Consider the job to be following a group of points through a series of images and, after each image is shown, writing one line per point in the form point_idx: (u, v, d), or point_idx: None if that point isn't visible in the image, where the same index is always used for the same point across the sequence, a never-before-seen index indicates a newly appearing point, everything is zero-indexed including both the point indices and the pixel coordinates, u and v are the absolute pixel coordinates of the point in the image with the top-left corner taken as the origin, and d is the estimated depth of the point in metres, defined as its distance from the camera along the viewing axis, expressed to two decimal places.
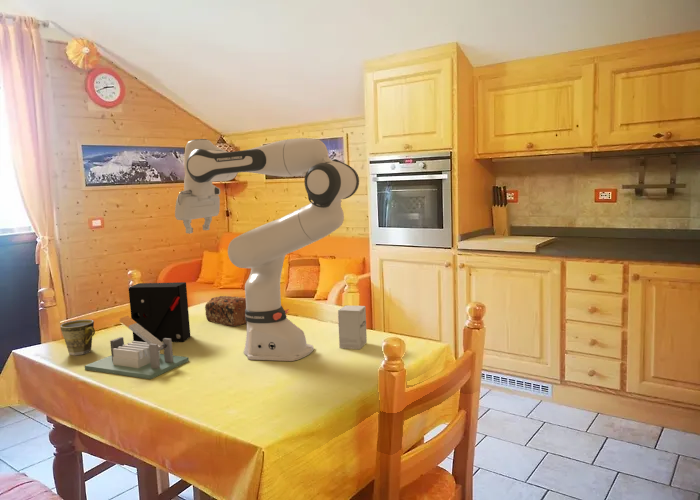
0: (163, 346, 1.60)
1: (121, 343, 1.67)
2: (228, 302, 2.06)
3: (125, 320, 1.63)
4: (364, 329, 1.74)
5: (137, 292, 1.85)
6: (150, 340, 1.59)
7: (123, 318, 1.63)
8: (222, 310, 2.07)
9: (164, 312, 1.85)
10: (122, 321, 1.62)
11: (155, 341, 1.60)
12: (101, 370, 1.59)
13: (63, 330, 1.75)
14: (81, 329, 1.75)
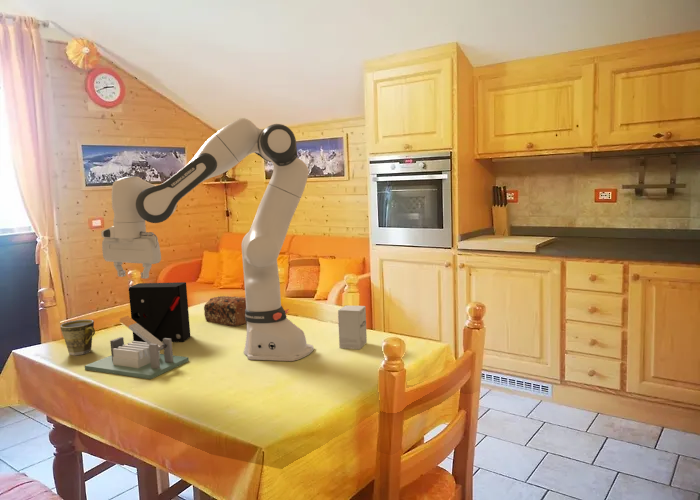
0: (163, 346, 1.60)
1: (121, 343, 1.67)
2: (229, 302, 2.06)
3: (125, 320, 1.63)
4: (364, 329, 1.74)
5: (137, 292, 1.85)
6: (150, 340, 1.59)
7: (123, 318, 1.63)
8: (223, 310, 2.06)
9: (164, 312, 1.85)
10: (122, 321, 1.62)
11: (155, 341, 1.60)
12: (101, 370, 1.59)
13: (63, 330, 1.75)
14: (81, 329, 1.75)
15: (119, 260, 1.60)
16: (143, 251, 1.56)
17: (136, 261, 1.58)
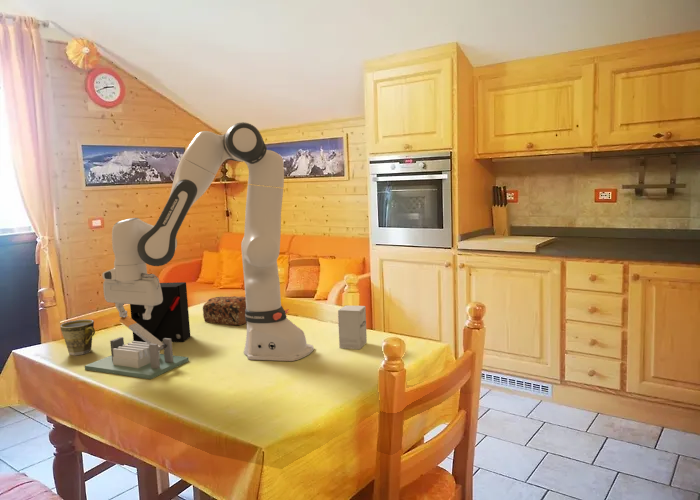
0: (163, 346, 1.60)
1: (121, 343, 1.67)
2: (231, 302, 2.07)
3: (125, 320, 1.63)
4: (364, 329, 1.74)
5: None
6: (150, 340, 1.59)
7: (123, 318, 1.63)
8: (225, 310, 2.07)
9: (164, 312, 1.85)
10: (122, 321, 1.62)
11: (155, 341, 1.60)
12: (101, 370, 1.59)
13: (63, 330, 1.75)
14: (81, 329, 1.75)
15: (121, 301, 1.61)
16: (145, 293, 1.56)
17: (138, 303, 1.58)
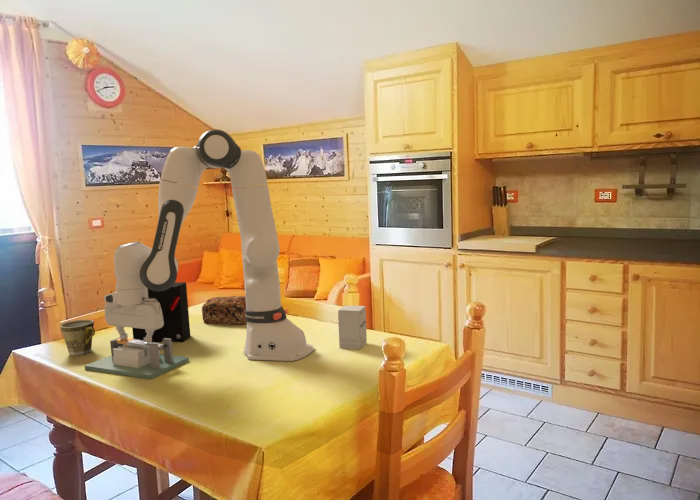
0: (163, 345, 1.60)
1: None
2: (234, 301, 2.07)
3: None
4: (364, 329, 1.74)
5: None
6: None
7: None
8: (227, 310, 2.07)
9: (164, 312, 1.85)
10: (119, 341, 1.64)
11: None
12: (101, 370, 1.59)
13: (63, 330, 1.75)
14: (81, 329, 1.75)
15: (122, 325, 1.62)
16: (146, 317, 1.57)
17: (139, 326, 1.59)
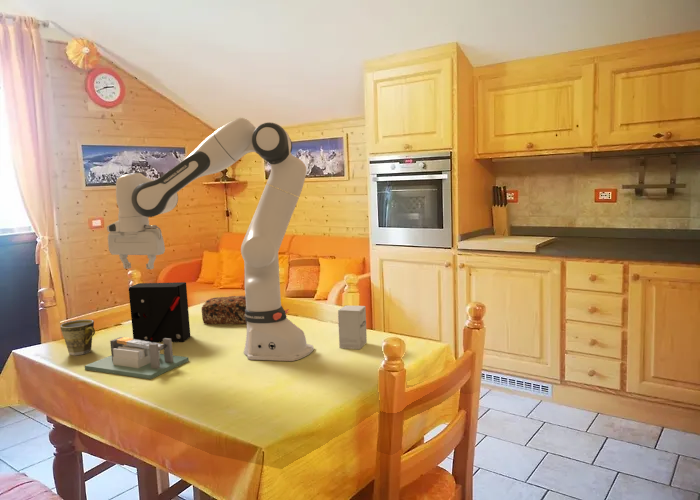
0: (163, 345, 1.60)
1: None
2: (236, 301, 2.08)
3: (122, 339, 1.64)
4: (364, 329, 1.74)
5: (137, 292, 1.85)
6: None
7: (120, 339, 1.65)
8: (230, 310, 2.07)
9: (164, 312, 1.85)
10: (119, 341, 1.64)
11: None
12: (101, 370, 1.59)
13: (63, 330, 1.75)
14: (81, 329, 1.75)
15: (125, 253, 1.70)
16: (148, 243, 1.65)
17: (141, 253, 1.67)
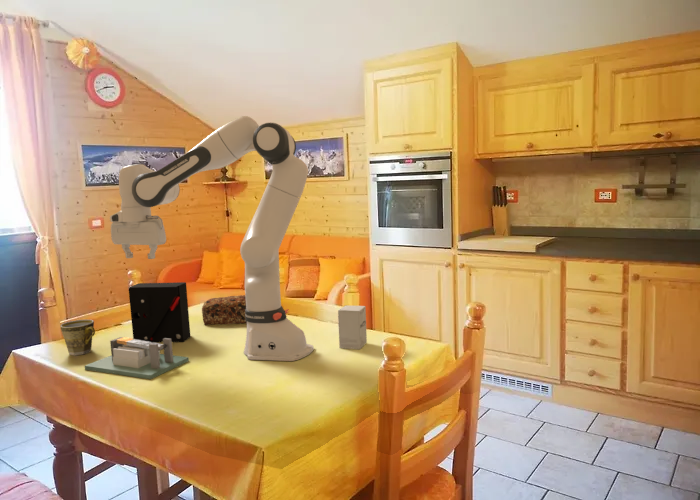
0: (163, 345, 1.60)
1: None
2: (238, 300, 2.09)
3: (122, 339, 1.64)
4: (364, 329, 1.74)
5: (137, 292, 1.85)
6: None
7: (120, 339, 1.65)
8: (232, 309, 2.07)
9: (164, 312, 1.85)
10: (119, 341, 1.64)
11: None
12: (101, 370, 1.59)
13: (63, 330, 1.75)
14: (81, 329, 1.75)
15: (127, 242, 1.73)
16: (149, 233, 1.68)
17: (143, 243, 1.70)
